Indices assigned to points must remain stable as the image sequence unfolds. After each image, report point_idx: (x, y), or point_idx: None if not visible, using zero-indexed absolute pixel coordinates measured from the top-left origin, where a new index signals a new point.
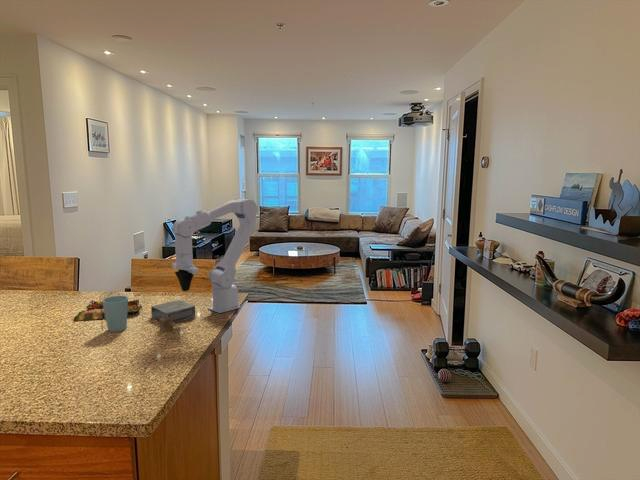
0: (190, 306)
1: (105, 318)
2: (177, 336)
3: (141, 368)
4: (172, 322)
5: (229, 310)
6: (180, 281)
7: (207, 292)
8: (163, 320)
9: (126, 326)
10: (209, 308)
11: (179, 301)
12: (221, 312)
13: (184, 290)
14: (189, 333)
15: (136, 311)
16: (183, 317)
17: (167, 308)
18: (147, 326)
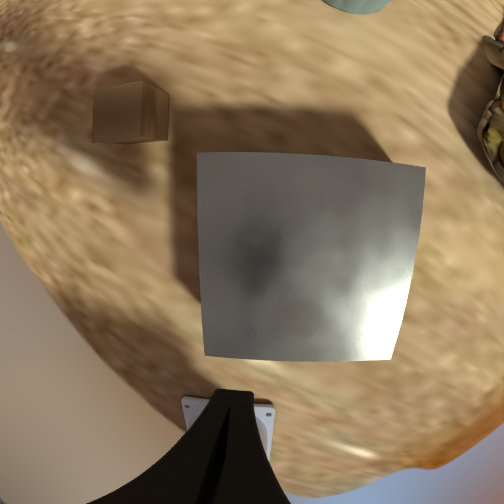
0: (214, 336)
1: (492, 39)
2: (62, 132)
3: (3, 9)
4: (104, 142)
5: (187, 426)
6: (231, 463)
7: (425, 456)
8: (102, 90)
9: (329, 1)
10: (259, 406)
11: (362, 345)
12: (182, 402)
13: (214, 396)
14: (58, 184)
15: (483, 141)
16: None
17: (293, 214)
18: (276, 74)
